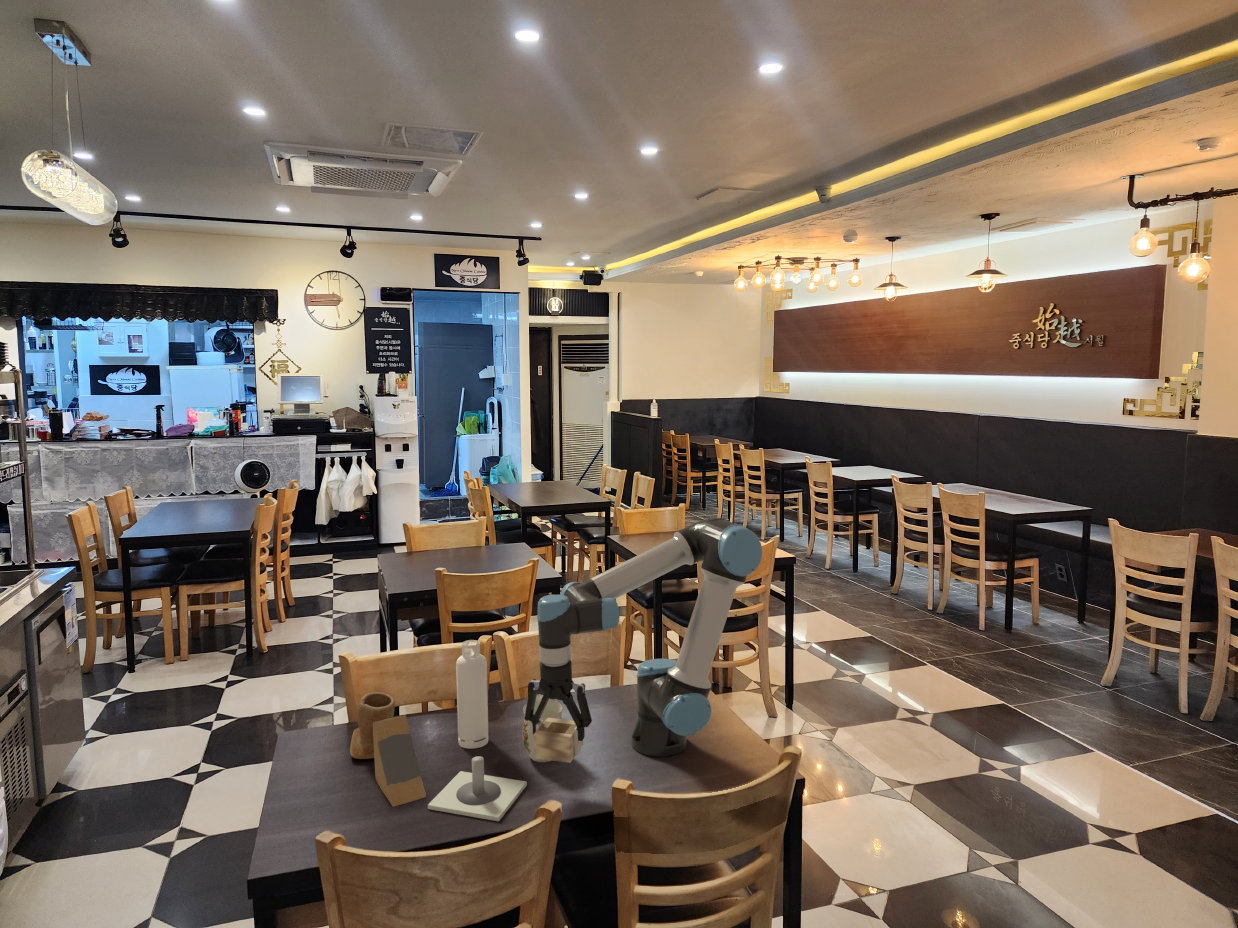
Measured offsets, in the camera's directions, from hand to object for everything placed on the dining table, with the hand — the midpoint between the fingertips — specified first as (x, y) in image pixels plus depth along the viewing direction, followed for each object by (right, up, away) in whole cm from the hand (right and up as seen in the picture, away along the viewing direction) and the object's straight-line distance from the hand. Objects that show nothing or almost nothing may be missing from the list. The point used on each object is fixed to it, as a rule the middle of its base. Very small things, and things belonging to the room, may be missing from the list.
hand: (559, 749), depth 190 cm
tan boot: (-52, -8, +22) cm, 57 cm away
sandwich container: (-39, -10, +3) cm, 40 cm away
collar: (0, 0, 0) cm, 0 cm away
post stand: (-19, -11, -2) cm, 22 cm away
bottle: (-26, -7, +26) cm, 37 cm away
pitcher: (-5, -8, +17) cm, 20 cm away
